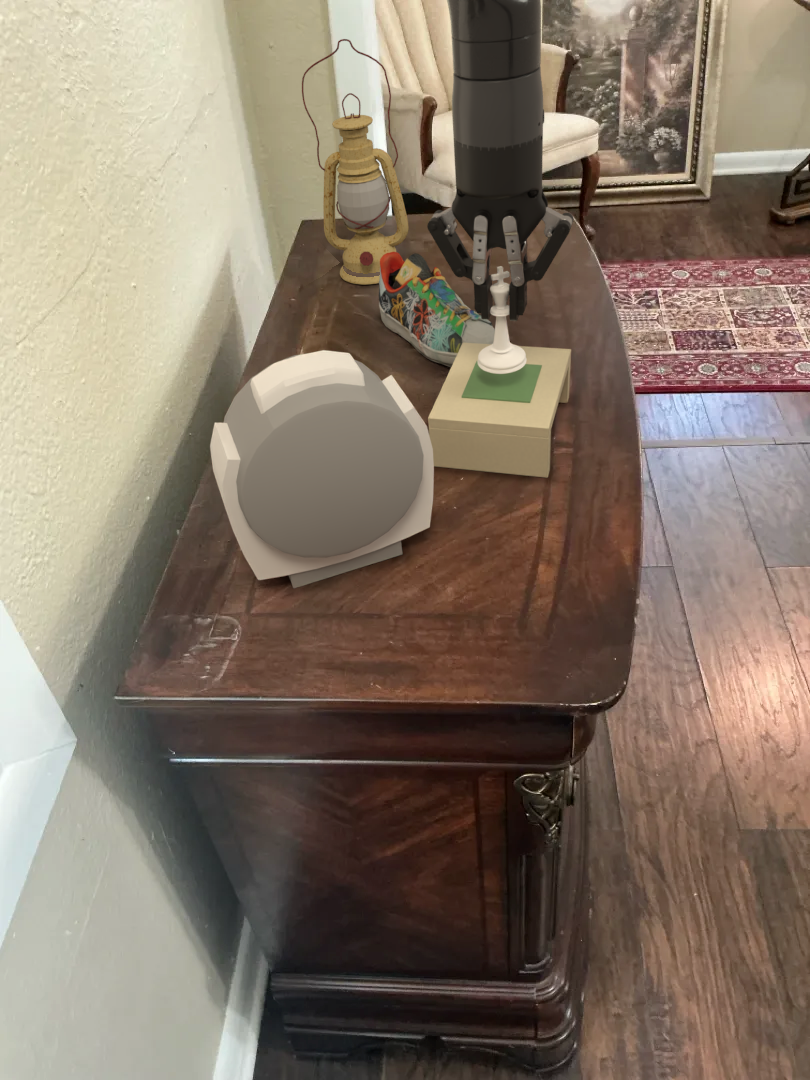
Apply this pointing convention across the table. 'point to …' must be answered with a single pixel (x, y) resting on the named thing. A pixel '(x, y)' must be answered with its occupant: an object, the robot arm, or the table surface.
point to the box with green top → (499, 413)
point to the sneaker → (427, 309)
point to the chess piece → (501, 333)
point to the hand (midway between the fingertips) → (501, 315)
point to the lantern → (361, 193)
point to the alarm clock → (322, 468)
